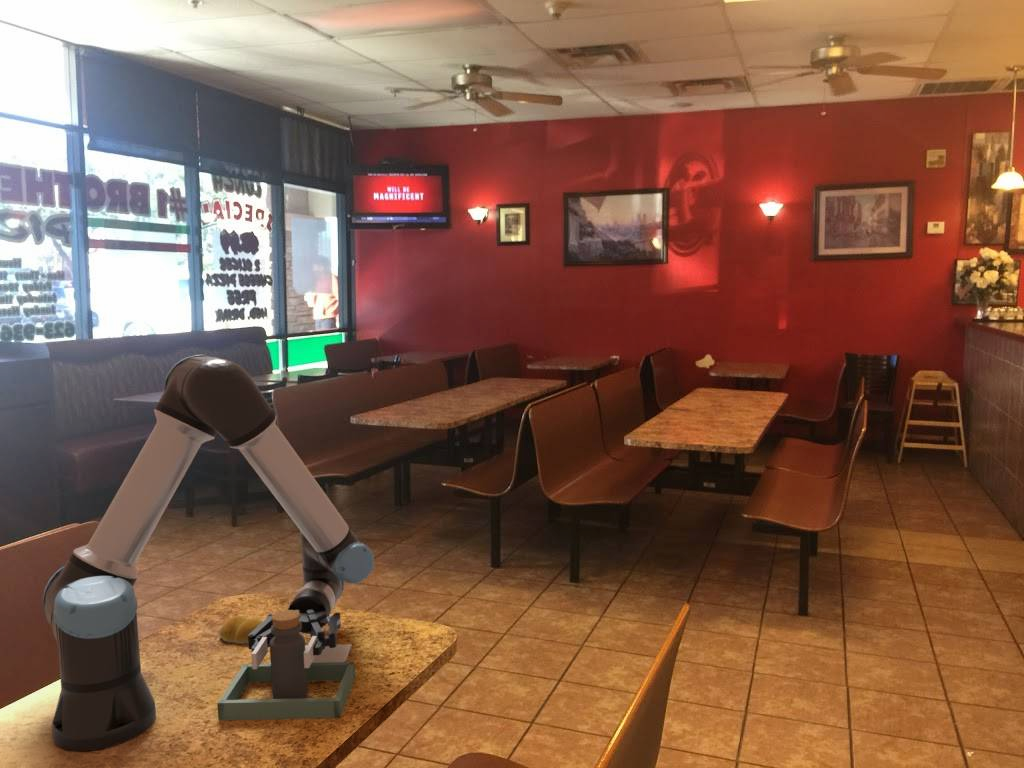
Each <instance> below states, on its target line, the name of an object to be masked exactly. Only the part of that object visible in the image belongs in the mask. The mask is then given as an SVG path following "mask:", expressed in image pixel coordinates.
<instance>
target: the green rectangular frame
mask: <svg viewBox="0 0 1024 768" xmlns="http://www.w3.org/2000/svg"><path fill="white" fill-rule="evenodd" d="M306 673H307V682H330V681H331V682H332V681H334V682H335V681H338V682H339V681H340V684H339V685H338V689H337V691H336V693H335V696H334V697H310V698H309V697H307V698H297V699H273V698H264V699H263V698H262V699H260V698H258V699H255V698H254V699H239V698H240V697H241V695H242V694H243V692H244V690H245V689H246V687H247V686H248V685H249V683H272V679H271V664H269V663H260V665H259V667H258V668H257V669H252V663H243V665H242V666H241V668H240V669H239V670H238V672H237V674H235V676H234V678H233V679H232V681H231V683H229V686H228V687H227V688H226V689H225V691H224V693H223V694H222V696H221V697H220V698H219V700H218V701H217V716H218V717H217V718H218V721H250V720H251V721H255V720H259V721H261V720H296V719H297V720H301V719H302V720H303V719H304V720H305V719H306V720H307V719H341V717H342V715H343V711H344V709H345V706H346V704H347V701H348V698H349V696H350V693H351V691H352V687H353V685H354V682H355V679H356V662H355V661H346V662H324V663H311V665H310V667H309V668H306Z"/></svg>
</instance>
